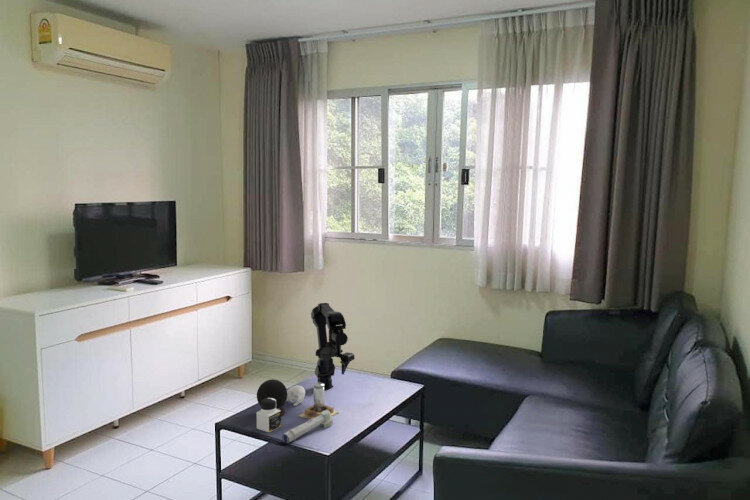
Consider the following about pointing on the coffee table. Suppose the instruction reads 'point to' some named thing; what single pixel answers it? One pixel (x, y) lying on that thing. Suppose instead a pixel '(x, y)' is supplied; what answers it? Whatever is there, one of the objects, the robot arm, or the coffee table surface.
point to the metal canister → (319, 397)
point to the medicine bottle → (268, 416)
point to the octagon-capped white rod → (308, 426)
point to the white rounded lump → (296, 394)
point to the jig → (311, 414)
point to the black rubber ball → (273, 393)
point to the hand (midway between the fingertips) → (334, 372)
